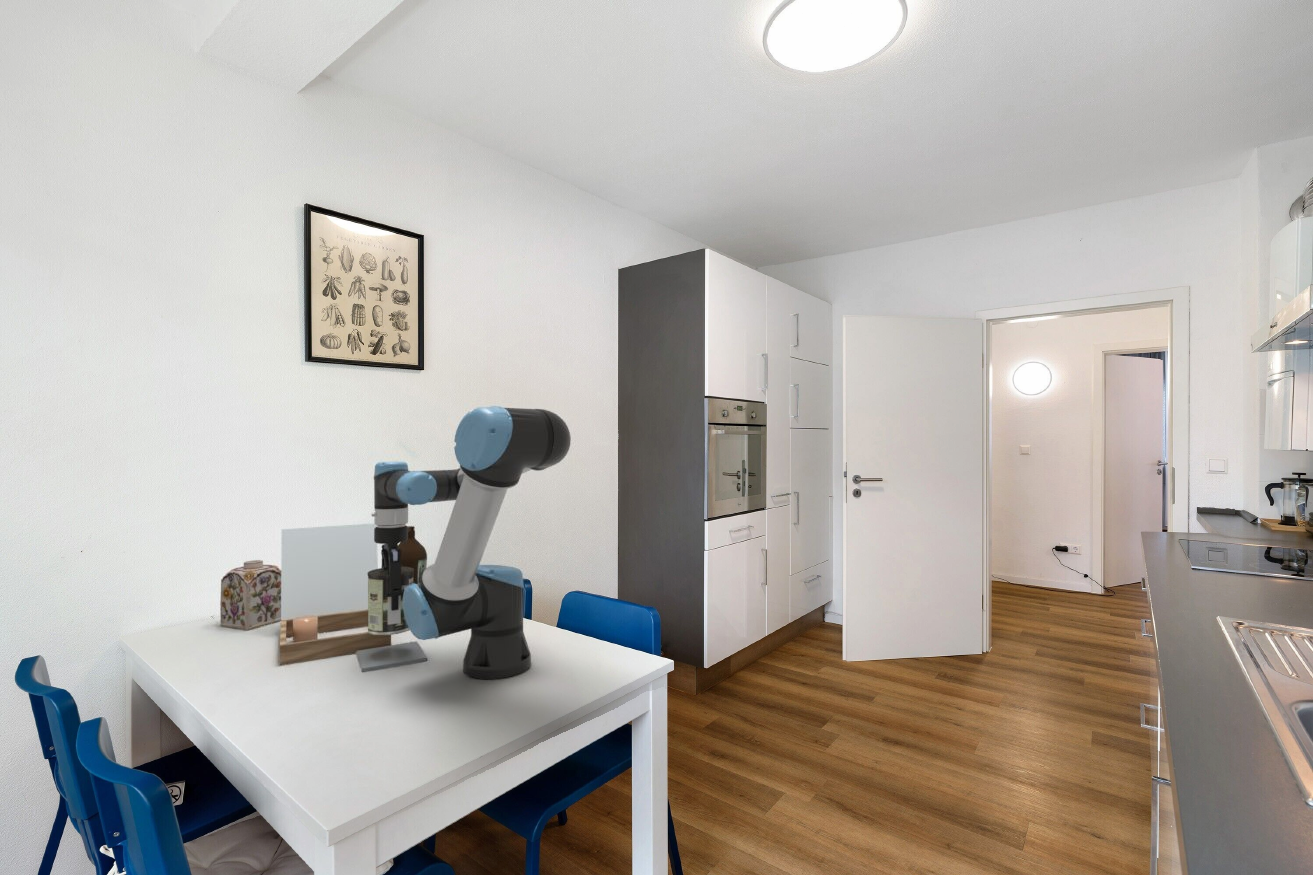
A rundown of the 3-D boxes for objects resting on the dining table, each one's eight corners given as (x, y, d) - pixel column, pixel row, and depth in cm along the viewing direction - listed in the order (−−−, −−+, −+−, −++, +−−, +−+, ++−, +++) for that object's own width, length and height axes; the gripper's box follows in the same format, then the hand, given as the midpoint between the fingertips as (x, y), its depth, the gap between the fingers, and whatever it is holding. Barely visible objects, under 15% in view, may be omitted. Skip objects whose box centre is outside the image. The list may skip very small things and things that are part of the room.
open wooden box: (391, 647, 155) (391, 629, 155) (279, 665, 143) (279, 645, 143) (379, 623, 176) (379, 607, 176) (281, 637, 164) (281, 620, 164)
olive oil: (386, 609, 191) (386, 529, 192) (398, 600, 202) (398, 524, 202) (420, 608, 192) (420, 528, 192) (431, 600, 203) (431, 524, 203)
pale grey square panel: (376, 523, 182) (375, 524, 183) (281, 529, 169) (281, 530, 171) (379, 607, 176) (378, 608, 177) (281, 620, 164) (281, 620, 165)
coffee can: (420, 622, 153) (420, 566, 153) (402, 635, 143) (402, 575, 143) (379, 622, 153) (379, 566, 153) (358, 635, 143) (359, 574, 143)
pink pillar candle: (317, 642, 159) (318, 619, 159) (292, 646, 157) (292, 622, 157) (317, 636, 164) (317, 614, 164) (292, 640, 161) (292, 617, 161)
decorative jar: (246, 631, 169) (247, 566, 170) (218, 626, 174) (218, 563, 174) (286, 619, 181) (287, 558, 181) (259, 615, 185) (259, 556, 185)
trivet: (427, 660, 145) (427, 657, 145) (361, 672, 138) (361, 668, 138) (416, 644, 157) (416, 641, 157) (356, 654, 150) (356, 650, 150)
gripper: (369, 521, 156) (368, 608, 156) (380, 532, 137) (379, 632, 136) (400, 519, 160) (400, 604, 160) (415, 530, 140) (415, 627, 140)
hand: (390, 617), depth 148 cm, fingers closed on coffee can, 10 cm apart
